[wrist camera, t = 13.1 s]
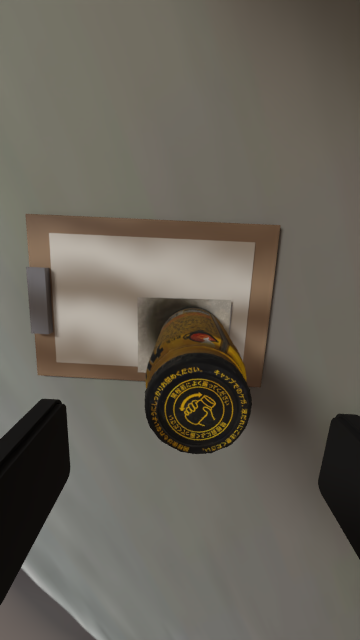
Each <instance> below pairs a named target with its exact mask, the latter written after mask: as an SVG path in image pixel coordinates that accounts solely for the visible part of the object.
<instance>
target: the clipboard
mask: <svg viewBox="0 0 360 640" xmlns="http://www.w3.org/2000/svg"><path fill="white" fill-rule="evenodd" d="M26 225H27V238H28V252H29V265H30V267H26V269H27V282H28V295H29V308H30V320H31V333H34V334H35V344H36V357H37V370H38V375H46V376H64V377H83V378H101V379H119V380H137V381H146V380H145V378H146V373H144V372H138V308H137V297H147V298H184V299H214V300H231V313H230V324H229V337H230V339H231V340H232V342H233V344H234V345H235V347H236V348H237V350H238V352H239V354H240V356H241V358H242V361H243V363H244V365H245V369H246V377H247V379H246V382H247V385H248V387H261V380H262V372H263V364H264V355H265V347H266V339H267V331H268V323H269V315H270V307H271V299H272V290H273V282H274V274H275V266H276V258H277V250H278V242H279V233H280V225H261V224H239V223H217V222H195V221H173V220H151V219H128V218H106V217H84V216H62V215H40V214H26Z"/></svg>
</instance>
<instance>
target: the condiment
mask: <svg viewBox="0 0 360 640" xmlns="http://www.w3.org/2000/svg"><path fill="white" fill-rule="evenodd" d="M137 308H138V372H144V373H146V378H145V380H146V391H145V413H146V418H147V420H148V423H149V426H150V428H151V429H152V430H153V431H154V433H155V434H156V435H157V437H158V438H159V439H160V440H161V441H162V442H164V443H166V444H168V445H169V446H171V447H173V448H175V449H177V450H179V451H180V452H186V453H192V454H206V453H212V452H215V451H217V450H219V449H222V448H225V447H228V446H229V445H231V444H232V443H233V442H234V441H235V440H236V439H237V438H238V437H239V436H240V435H241V433H242V432H243V430H244V429H245V427H246V425H247V423H248V419H249V416H250V413H251V406H252V402H251V400H252V399H251V394H250V390H249V388H248V385H247V382H246V379H247V377H246V369H245V365H244V363H243V361H242V358H241V356H240V354H239V352H238V350H237V348H236V347H235V345H234V344H233V342H232V340H231V339H230V337H229V324H230V313H231V300H214V299H184V298H147V297H137Z"/></svg>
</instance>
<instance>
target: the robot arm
mask: <svg viewBox="0 0 360 640" xmlns="http://www.w3.org/2000/svg"><path fill="white" fill-rule="evenodd" d="M69 473H70V457H69V443H68V428H67V414H66V406H65V405H64V404H62V403H61V401H60V400H57V399H41V400H40V401H39V402H38V403H37V404H36V405H35V406H34V407H33V408H32V409H31V410H30V411H29V412H28V413H27V414H26V415H25V416H24V417H23V418H22V419H21V420H20V421H18V422H17V423H16V424H15V425H14V426H13V427H12V428H11V429H10V430H9V431H8V432H7V433H6V434H5V435H4V436H3V437H2V438H1V439H0V605H1V603H2V602H3V600H4V598H5V596H6V594H7V593H8V590H9V589H10V587H11V585H12V583H13V581H14V579H15V577H16V576H17V574H18V572H19V570H20V568H21V566H22V564H23V562H24V561H25V559H26V557H27V555H28V553H29V551H30V549H31V547H32V545H33V544H34V542H35V540H36V538H37V536H38V534H39V532H40V530H41V529H42V527H43V525H44V523H45V521H46V519H47V517H48V515H49V513H50V512H51V510H52V508H53V506H54V504H55V502H56V500H57V498H58V496H59V495H60V493H61V491H62V489H63V487H64V485H65V483H66V481H67V479H68V477H69ZM318 485H319V489H320V492H321V494H322V496H323V498H324V499H325V501H326V503H327V504H328V506H329V508H330V509H331V511H332V513H333V515H334V516H335V518H336V520H337V521H338V523H339V525H340V527H341V528H342V530H343V532H344V533H345V535H346V537H347V539H348V540H349V542H350V544H351V545H352V547H353V549H354V551H355V552H356V554H357V556H358V557H359V559H360V416H358V415H353V414H338V415H337V416H336V418H333V419H332V420H331V424H330V429H329V433H328V438H327V442H326V447H325V452H324V456H323V461H322V466H321V470H320V475H319V480H318Z"/></svg>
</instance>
